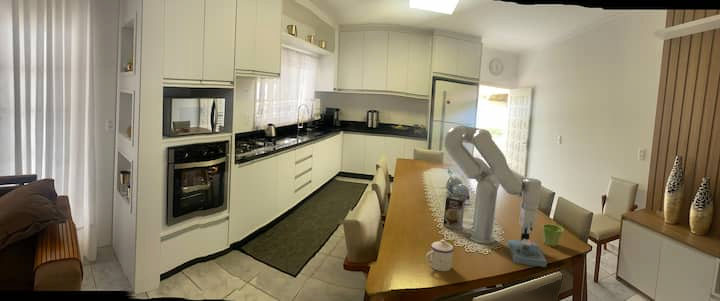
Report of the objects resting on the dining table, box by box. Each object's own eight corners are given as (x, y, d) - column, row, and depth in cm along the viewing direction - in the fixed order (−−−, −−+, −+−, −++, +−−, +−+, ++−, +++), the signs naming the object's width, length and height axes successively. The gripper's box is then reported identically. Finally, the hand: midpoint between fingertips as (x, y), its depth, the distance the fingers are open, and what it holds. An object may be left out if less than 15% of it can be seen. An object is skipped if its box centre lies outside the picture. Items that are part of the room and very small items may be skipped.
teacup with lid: (443, 260, 163) (445, 234, 161) (456, 270, 155) (459, 243, 153) (419, 264, 159) (421, 237, 156) (431, 274, 150) (434, 247, 148)
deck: (507, 244, 184) (508, 239, 184) (536, 248, 181) (536, 243, 181) (513, 262, 165) (514, 256, 165) (546, 267, 162) (546, 261, 162)
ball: (521, 249, 173) (522, 240, 172) (519, 245, 177) (520, 236, 176) (531, 250, 172) (532, 241, 171) (529, 246, 176) (530, 237, 175)
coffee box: (442, 226, 203) (445, 197, 200) (445, 222, 208) (448, 194, 205) (459, 230, 199) (462, 200, 196) (462, 226, 204) (465, 197, 201)
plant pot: (558, 250, 181) (561, 232, 179) (537, 244, 186) (540, 227, 185) (562, 244, 188) (565, 227, 187) (542, 238, 194) (544, 222, 192)
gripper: (518, 199, 185) (513, 235, 188) (524, 208, 171) (518, 247, 174) (534, 201, 183) (529, 237, 187) (541, 211, 169) (536, 249, 172)
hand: (524, 241), depth 180 cm, fingers closed
